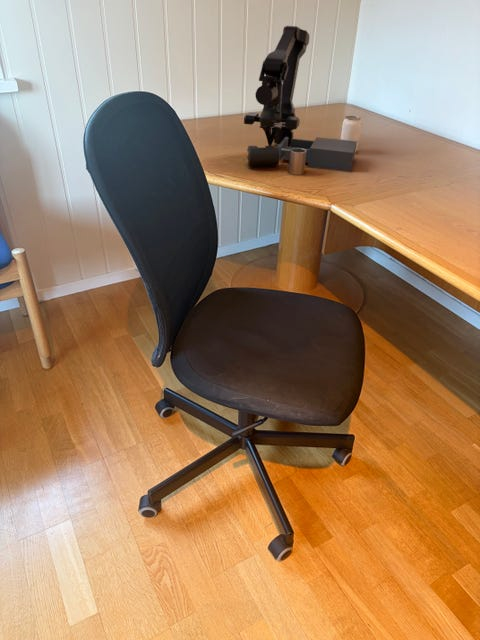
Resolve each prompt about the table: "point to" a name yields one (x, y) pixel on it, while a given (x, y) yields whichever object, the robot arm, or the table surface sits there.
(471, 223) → the table surface
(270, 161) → the end cap
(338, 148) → the cabinet
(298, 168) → the measuring cup
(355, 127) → the can
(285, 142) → the drawer
